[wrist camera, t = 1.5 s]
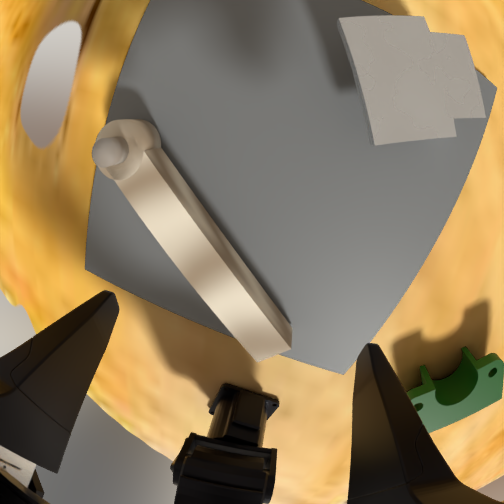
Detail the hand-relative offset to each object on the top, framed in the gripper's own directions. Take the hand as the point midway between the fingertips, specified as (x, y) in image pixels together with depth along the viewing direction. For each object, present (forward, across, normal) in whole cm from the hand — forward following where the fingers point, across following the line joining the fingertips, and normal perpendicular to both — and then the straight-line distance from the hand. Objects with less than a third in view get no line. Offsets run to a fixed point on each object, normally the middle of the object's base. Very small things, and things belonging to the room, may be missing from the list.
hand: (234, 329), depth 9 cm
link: (+10, +5, +4) cm, 12 cm away
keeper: (+14, -7, -8) cm, 18 cm away
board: (+13, 0, -1) cm, 13 cm away
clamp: (+9, -21, +15) cm, 28 cm away
